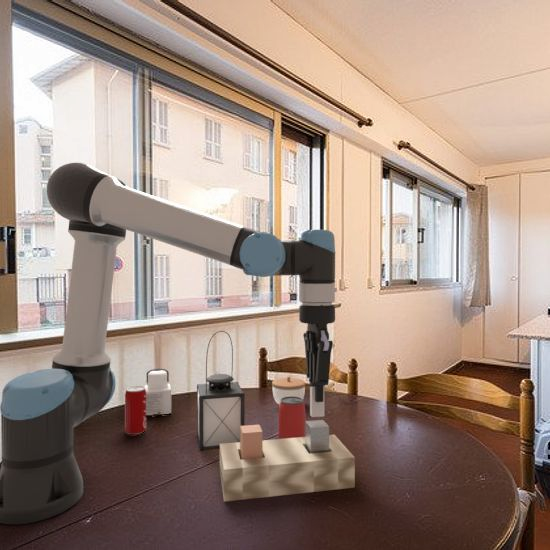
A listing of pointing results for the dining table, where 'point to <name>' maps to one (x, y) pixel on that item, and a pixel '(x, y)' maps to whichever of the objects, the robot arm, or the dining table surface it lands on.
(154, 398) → the container
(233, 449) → the birch block
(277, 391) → the lidded jar
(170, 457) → the dining table surface
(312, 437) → the metal peg
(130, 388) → the soda can
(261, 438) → the terracotta peg
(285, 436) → the beer can
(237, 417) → the lantern
